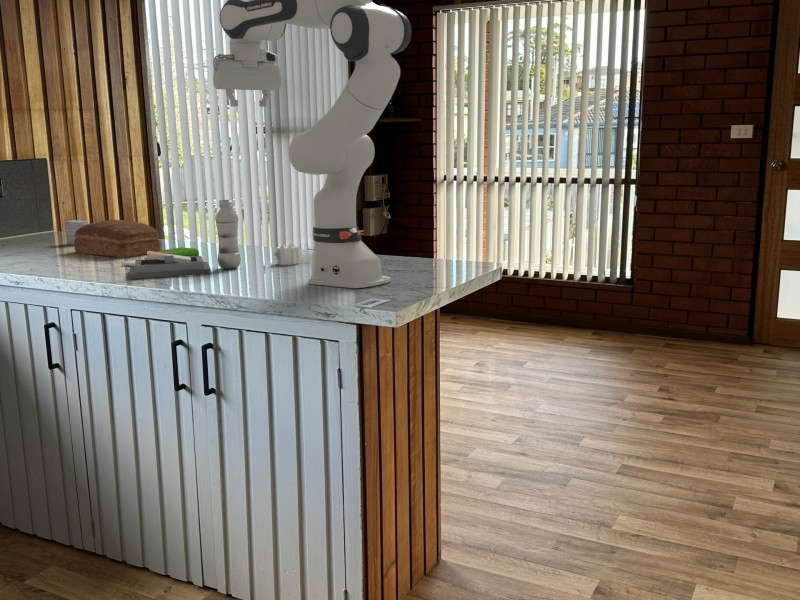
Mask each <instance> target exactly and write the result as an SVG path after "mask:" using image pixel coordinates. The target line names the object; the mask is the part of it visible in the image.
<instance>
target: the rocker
mask: <svg viewBox="0 0 800 600" xmlns="http://www.w3.org/2000/svg"><path fill="white" fill-rule="evenodd" d="M169 255H172V254H167V253H160V252H153V251H147V255H146V258H151V259H159V260H165V256H169ZM173 257H174V262H181V263H182V262H191V258H190V257H186V256H179V255H173Z"/></svg>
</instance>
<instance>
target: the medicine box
mask: <svg viewBox="0 0 800 600" xmlns="http://www.w3.org/2000/svg"><path fill="white" fill-rule="evenodd" d="M87 224H89V222H88V221H87V220H79V219H78V220H77V219H76V220H75V219H74V220H67V221H64V227H65V236H66V244H67V245H73V246H74V241H75V239H76V238H75V233H76V231H77V230H78V229H79V228H81V227H83V226H85V225H87Z"/></svg>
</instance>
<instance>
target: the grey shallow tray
mask: <svg viewBox="0 0 800 600" xmlns="http://www.w3.org/2000/svg"><path fill="white" fill-rule="evenodd" d="M164 253H167V254H172V255H169V256H165V260H159V259H142V258H140V259H141V260H140V259H134V260H135V266H129V271H128V280H130V281H132V280H143V279H144V280H145V279H158V278H172V277H173V278H174V277H187V276H202V275H203V276H204V275H211V274H212V273H211V271H212V270H211V267H210V265H209V262H208V261H204V259H203V257H202V255H199V256H190V258H191V262H182V263H181V262H174V257H173V252H164Z"/></svg>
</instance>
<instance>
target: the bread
mask: <svg viewBox="0 0 800 600" xmlns="http://www.w3.org/2000/svg"><path fill="white" fill-rule="evenodd" d="M159 235H160V234H159V231H158V230H157V229H156V228H154V227H153V226H151V225H149V224H146V223H144V222H143V223H142V222H139V221H131V220H127V219H108V220H102V221H97V222H96V221H94V222H92V223H88V224H87V225H85V226H83V227H81V228H79V229H78V230H77V231H76V233H75V238H76V239H75V241H74V245H73V246H74V251H75V252H76V253H80V254H86V255H94V256H103V257H111V258H117V259H127V258H133V257H140V256H147V251H153V252H158V251H162V244H161V241H160V239H159Z"/></svg>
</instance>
